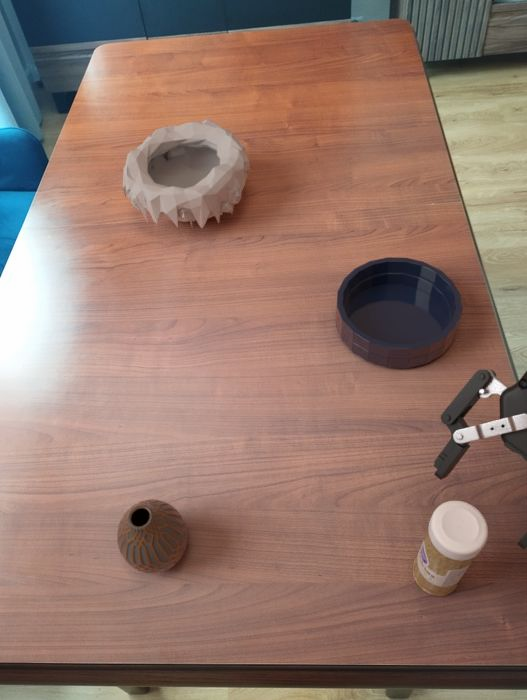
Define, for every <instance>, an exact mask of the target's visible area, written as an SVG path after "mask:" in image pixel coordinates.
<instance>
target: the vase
mask: <svg viewBox="0 0 527 700" xmlns="http://www.w3.org/2000/svg"><path fill="white" fill-rule="evenodd" d="M116 533H117V534H116V540H117V541H116V542H117V546H118V550H119V553H120V554H121V556H122V558H123V560H124V561H125V562H126V563H127V564H128V565H129V566H130V567H132V568H133V569H134V570H137V571H138V572H141V573H145V574H160V573H164V572H166V571H169V570H170V569H171V568H173V567H175V566H176V565H177V563H178V562H179V561H180V560H181V558H182V557H183V555H184V553H185V551H186V549H187V544H188V537H189V536H188V534H189V533H188V529H187V524H186V521H185V519H184V518H183V515H182V514H181V513H180V511H179V510H178V508H175V506H173V505H172V504H170V503H168V502H167V501H164V500H160V499H154V498H153V499H144V500H141V501H138V502H137V503H134V504H133V505H131V506H130V507H129V508H128V509H127V510H126V511H125V512H124V513H123V515H122V517H121V519H120V521H119V523H118V527H117V531H116Z"/></svg>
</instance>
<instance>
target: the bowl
mask: <svg viewBox="0 0 527 700" xmlns="http://www.w3.org/2000/svg"><path fill="white" fill-rule="evenodd" d="M246 152H247V151H246V147H245V146H244V144H242V142H241V141H240V140H239V139H238V138H237V137H236V136H235V135H234V133H233V132H232V131H231V129H227V128H224V127H222V126H221V125H220V124H218V123H217V122H215V121H213V120H212V119H210V118H205V119H204V120H202V121H189V122H185V123H181V124H180V125H168V126H163V127H160V128H157V129H155V130H154V131H153V133H151V134H150V135H148V136H147V137H146V138H145V140H143V141H142V143H140V145H138V146H137V147H136V148H134V149H132V150H130V151H129V152H128V153H127V155H126V160H125V165H124V167H122V170H123V171H122V173H123V174H122V175H123V176H122V191H123V193H124V197H125V198H128V199H129V201H130V202H131V205H132V207H133V209H134V210H135V209H137V211H138V213H139V214H140V213H141V214H142V216H143V218H144V220H145V222H146V224H147V225H148V217H147V212H148V213H149V214H150V216H151V219H152V221H153V222H154V223H156V224H158V223H159V220H160V219H161V220H162V221H171V222H172V223H173V224H174V225H175V227H176V228H179V222H185V223H187V222H189V223H190V226H191V228H194V226H193V222H195V221H196V223H197V224H198V226H199V227H200V228H201V229H204V227H205V225H206V223H207V221H208V219H211V218H213V217H214V218H215V219H216V221H217V223H218V224H220V219H221V216H224V215H223V213H230V214H231V215H232V216H233V213H234V206H235V205H238V204H239V202H240V201H241V199H242V193H243V190H244V188H245V186H246V182H247V179H248V174H249V173H248V172H249V171H250V165H251V164H250V159H249V157H248V154H247V153H246ZM146 211H147V212H146Z"/></svg>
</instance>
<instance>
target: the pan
mask: <svg viewBox="0 0 527 700" xmlns="http://www.w3.org/2000/svg"><path fill="white" fill-rule="evenodd" d="M336 293H337V294H336V318H335V319H336V320H335V323H336V329H337V332H338V334H339V336H340V339H341V340H342V342H343V343H344V344H345V345H346V346H347V347H348V349H349V350H350V351H351V352H353V353H354V355H357V356H358V357H359V358H362V359H363V360H365V361H366V362H369V363H372V364H374V365H378V366H382V367H385V368H393V369H409V368H414V367H418V366H423V365H427V364H428V363H430V362H432V361H434V360H436V359H437V358H439V357H441V356H443V354H444V353H446V351H447V350H448V349H449V348H450V347H451V345H453V342H454V339H455V337H456V334H457V330H458V327H459V324H460V320H461V316H462V314H463V313H462V312H463V302H462V295H461V293H460V291H459V290H458V288H457V286H456V284H455V282H454V281H453V280H452V279H451V278H450V277H449V276H447V274H446V273H444V271H442V269H440V268H438V267H435V266H433V265H431V264H429V263H427V262H425V261H423V260H417V259H414V258H409V257H394V256H393V257H389V256H388V257H383V258H379V259H373V260H369V261H367V262H365V263H363V264H361V265H359V266H357V267H355V268H354V269H353V270H351V272H349V273H348V274H347V275H346V276H345V277H344V278H343V279H342V282H341V284H340V286H339V288H338V290H337V292H336Z"/></svg>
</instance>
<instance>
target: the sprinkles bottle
mask: <svg viewBox="0 0 527 700" xmlns="http://www.w3.org/2000/svg"><path fill="white" fill-rule="evenodd" d="M427 529H428V531H427V533H426V536H425V537H424V538H423V541H422V543H421V545H420V548H419V549H418V553H417V555H416V557H415V559H414V561H413V563H412V576H413V580H414V582H415V583H416V585H417V586H418V587H419V589H421V590H422V591H423V592H424V593H426V594H428V595H431V596H434V597H445V596H447V595H449V594H451V593H452V592H454V591H455V590H456V588H457V586H458V583H459V582H460V580H461V579H462V578H463V576H464V575H465V573H466V571H467V570H468V568H469V567H470V565H471V564H472V562H473V561H474V559H475V557H476V556H478V555H479V554H480V552H481V551H482V550H483V549H484V546H485V545H486V543H487V541H488V537H489V527H488V523H487V520H486V518H485V517H484V515H483V514H482V512H481V511H480V510H479V509H477V507H475V506H474V505H473V504H470V503H468V502H466V501H462V500H449V501H445V502H443V503H441V504H440V505H439V506H437V507H436V508H435V509H434V511H433V513H432V514H431V517H430V520H429V522H428V528H427Z"/></svg>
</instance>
